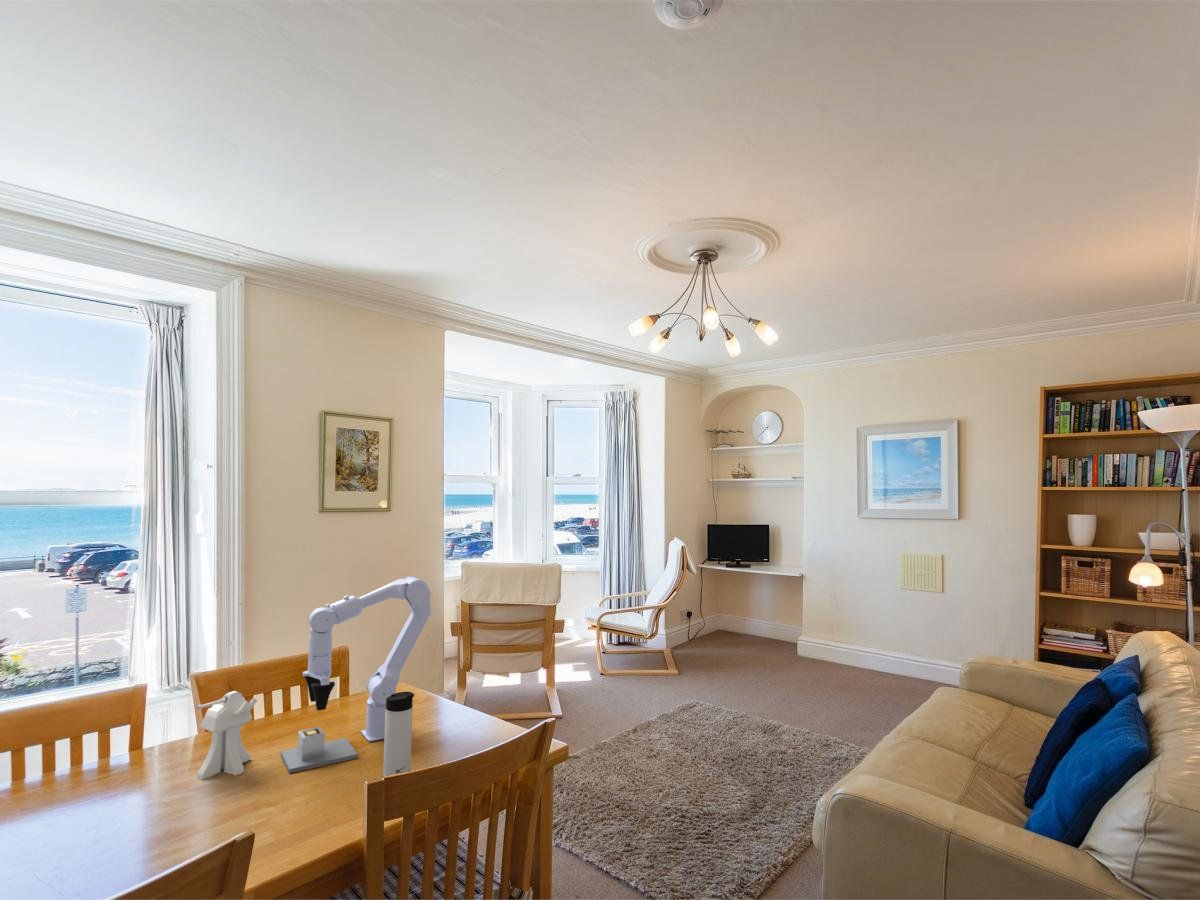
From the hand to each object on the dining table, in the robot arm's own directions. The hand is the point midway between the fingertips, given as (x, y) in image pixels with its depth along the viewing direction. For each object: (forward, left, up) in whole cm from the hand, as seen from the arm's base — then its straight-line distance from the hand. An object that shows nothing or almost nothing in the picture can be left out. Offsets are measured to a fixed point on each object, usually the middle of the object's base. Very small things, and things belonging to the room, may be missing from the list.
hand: (318, 705), depth 172 cm
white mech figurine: (+22, +3, -11) cm, 25 cm away
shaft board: (+1, +8, -10) cm, 13 cm away
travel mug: (-12, +30, -11) cm, 34 cm away
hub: (+3, +8, -9) cm, 13 cm away
